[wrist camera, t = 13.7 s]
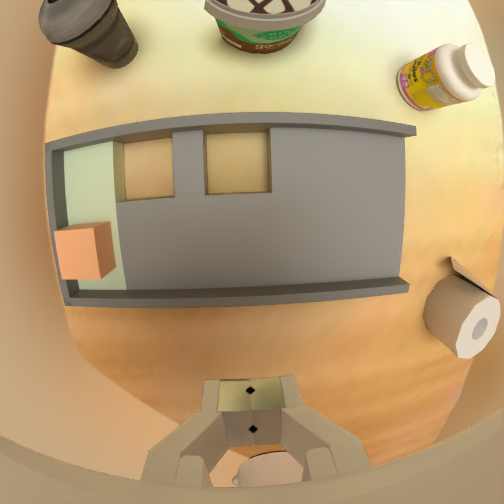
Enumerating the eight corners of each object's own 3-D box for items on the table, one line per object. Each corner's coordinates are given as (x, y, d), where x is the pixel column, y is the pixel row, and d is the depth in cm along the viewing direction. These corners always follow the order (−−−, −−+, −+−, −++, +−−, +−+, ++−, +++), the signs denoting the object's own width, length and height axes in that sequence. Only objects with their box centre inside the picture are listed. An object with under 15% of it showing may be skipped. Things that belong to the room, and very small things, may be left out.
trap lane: (391, 131, 29) (415, 126, 24) (386, 276, 34) (408, 292, 28) (70, 146, 27) (44, 143, 22) (85, 288, 32) (65, 305, 27)
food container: (240, 80, 27) (242, 41, 17) (211, 43, 25) (201, -3, 16) (328, 39, 26) (358, -2, 16) (298, 4, 24) (317, -41, 15)
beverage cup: (91, 45, 24) (-1, -23, 5) (143, 20, 24) (77, -77, 4) (99, 88, 26) (-14, 30, 7) (154, 62, 26) (74, -36, 6)
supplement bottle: (404, 56, 26) (463, 22, 14) (439, 87, 27) (503, 68, 15) (388, 89, 28) (452, 59, 15) (426, 122, 29) (496, 109, 16)
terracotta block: (110, 221, 27) (93, 228, 23) (116, 266, 28) (100, 279, 25) (73, 224, 27) (53, 231, 23) (79, 267, 28) (62, 279, 24)
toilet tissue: (451, 242, 33) (492, 259, 25) (469, 306, 36) (501, 328, 28) (408, 281, 34) (444, 307, 26) (432, 341, 37) (461, 370, 29)
